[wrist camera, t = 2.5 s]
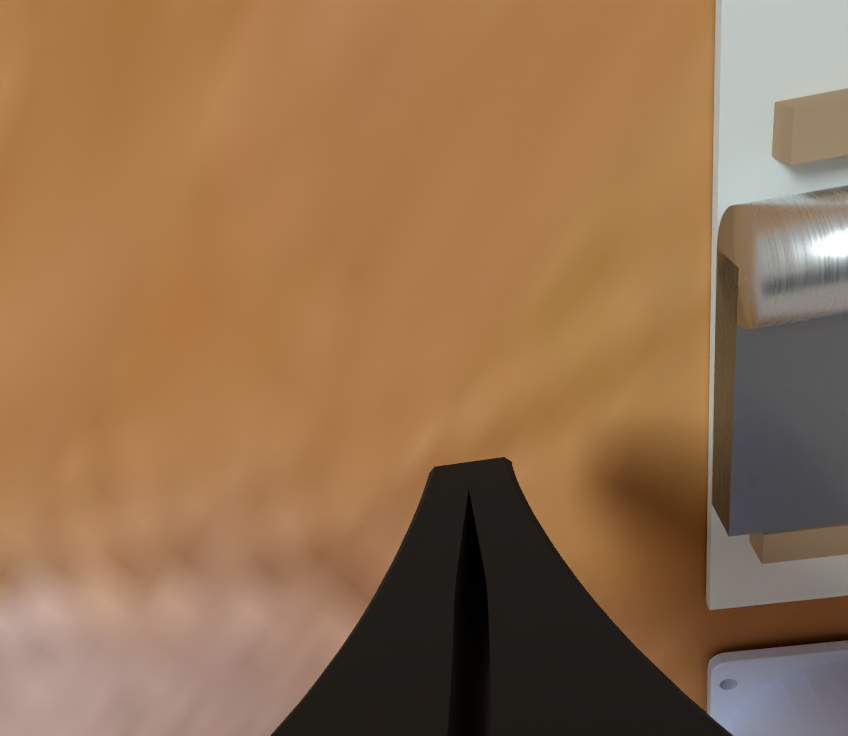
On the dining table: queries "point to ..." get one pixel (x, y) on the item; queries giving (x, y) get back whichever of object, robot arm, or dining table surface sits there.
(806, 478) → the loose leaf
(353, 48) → the dining table surface
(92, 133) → the dining table surface
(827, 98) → the hinge jig
